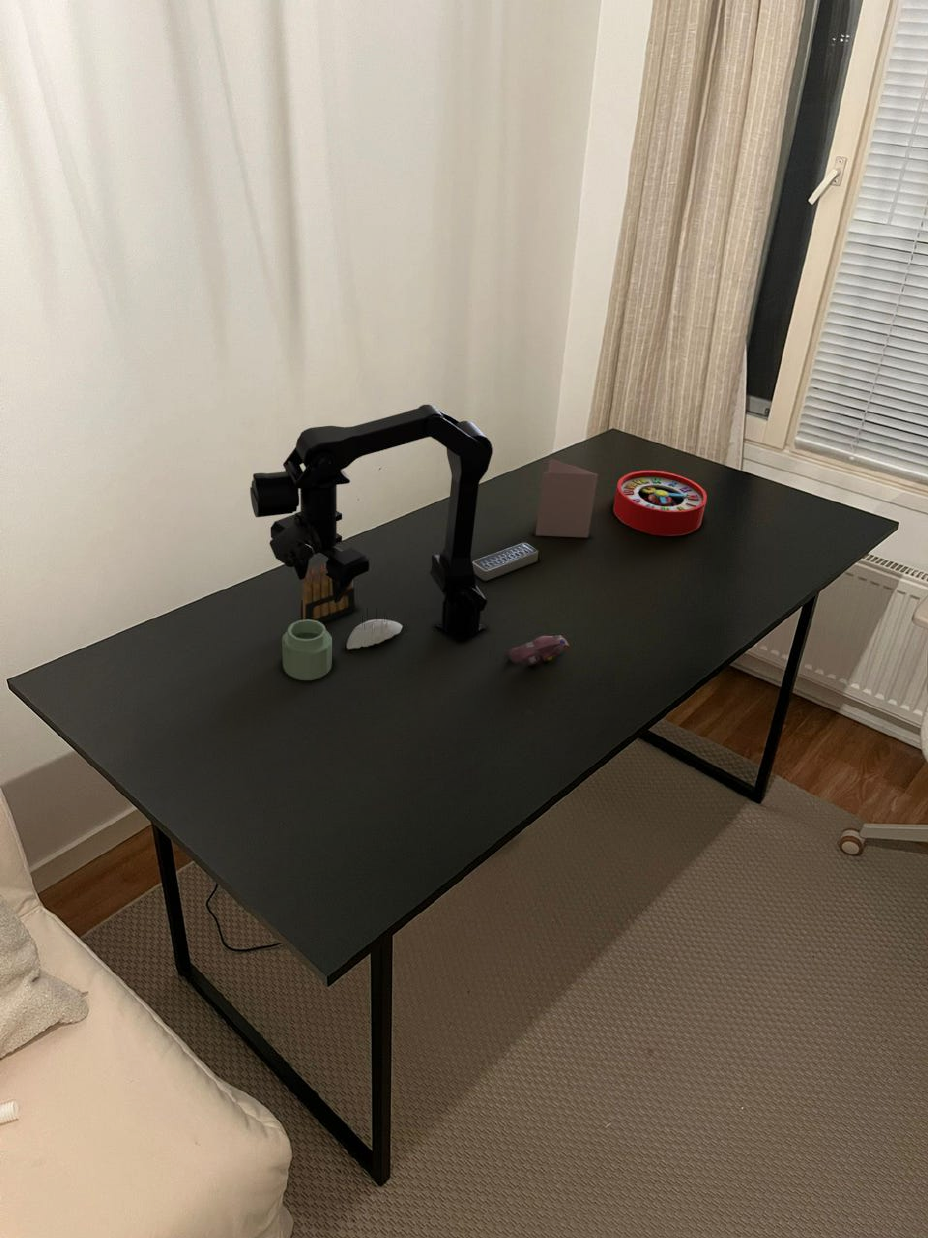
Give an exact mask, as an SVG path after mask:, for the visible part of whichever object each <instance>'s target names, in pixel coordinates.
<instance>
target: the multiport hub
mask: <svg viewBox="0 0 928 1238" xmlns="http://www.w3.org/2000/svg"><path fill="white" fill-rule="evenodd" d="M538 557H539V550H538V549H537V548H535V547H533V546H532V545H530V544H529V543H527V542H521V543H519V544H516V545H514V546H510V547H508V548H506V549H505V548H504V549H502V550H500V551H497V552H495V553H492V554H489V555H487V556H484V557H481V558H478V559H476V560H472V563H473V567H474V571H475V576H477V578H479V579H481V580H483V581H485V582H486V581H489V580H492V579H494V578H497V577H500V576H502V575H505V574H507V573H510V572H513V571H515V570H518V569H521V568H523V567H525V566H528V565H530V564H533V563H535V562H537V561H538Z"/></svg>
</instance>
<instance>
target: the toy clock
mask: <svg viewBox="0 0 928 1238" xmlns="http://www.w3.org/2000/svg"><path fill="white" fill-rule="evenodd" d="M615 490H616V491H615V497H614V501H613V508H612V509H613V510H612V511H613V513H614V515H615V516H616V517H617V519H618V520H619V521H620V522H621V523H623V524H625V525H626V526H628V527H630V528H632V529H634V530H637V531H640V532H642V533H646V534H651V535H656V536H665V537H666V536H667V537H668V536H669V537H675V536H683V535H687V534H690V533H692V532H694V531H696V530H697V529H699V528H700V526H701V524H702V521H703V516H704V512H705V508H706V503H707V498H708V497H707V493H706V491H705V489H704V488H702V487H701V485H699V484H698V483H696V482H695V481H694V480H691V479H689V478H687V477H685V476H682V475H679V474H675V473H672V472H667V471H662V470H661V471H660V470H638V471H633V472H629V473H627V474H624V475H623V476H622V477H620V478H619V480H618V481H617V485H616V489H615Z"/></svg>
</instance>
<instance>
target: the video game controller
mask: <svg viewBox="0 0 928 1238" xmlns="http://www.w3.org/2000/svg"><path fill="white" fill-rule="evenodd" d="M569 648H570V645H569V643H568V641H567V639H565V638H564V637H563V635H562V634H558V635H541V636H539V637H537V638H536V639H534V640H532V641H529V642H526V643H524V644H522V645H520V646H518V647H512V648H511V649H510V650H509V651H508V657H509V660H510V661H511V662H513V663H515V664H521V663H523V664H527V665H528V666H533V665H535V664H537V663H538V662H540V659H541V658H542V660H543V662H548V661H551V660H553V659H554V658H555V657H557V656H559V655H561V654H563V653H565V652H566V651H568V650H569ZM540 656H541V658H540Z"/></svg>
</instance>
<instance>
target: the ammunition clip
mask: <svg viewBox="0 0 928 1238" xmlns="http://www.w3.org/2000/svg"><path fill="white" fill-rule="evenodd" d="M319 571H320V572H319ZM319 571H318V567H317V565H313V568H312V571H311V575H310V571H309V569H308V570H307V574H306V577H305V579H302V590H301V591H302V592H301V594H302V599H301V600H300V620H305V619H310V620H316V621H319V622H320V623H322V624H323V623H325V622H327V621H329V620H333V619H335V618H339V617H341V616H344V615H346V614H349V613H352V612H355V611H356V602H355V601H356V600H355V599H356V597H355V587H354V579H353V580H352V582H351V584H350V585H349V587H348V589H347V590H346V592H345V594H344V596H343V598H342V599H341V601H340V602H338V603H335V602H334V598H333V589H332V579H331V578H330V577H328V576H327V575H325V574H326V573H328V571H327V569H326V562H322V564H321V565H320V570H319Z"/></svg>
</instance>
